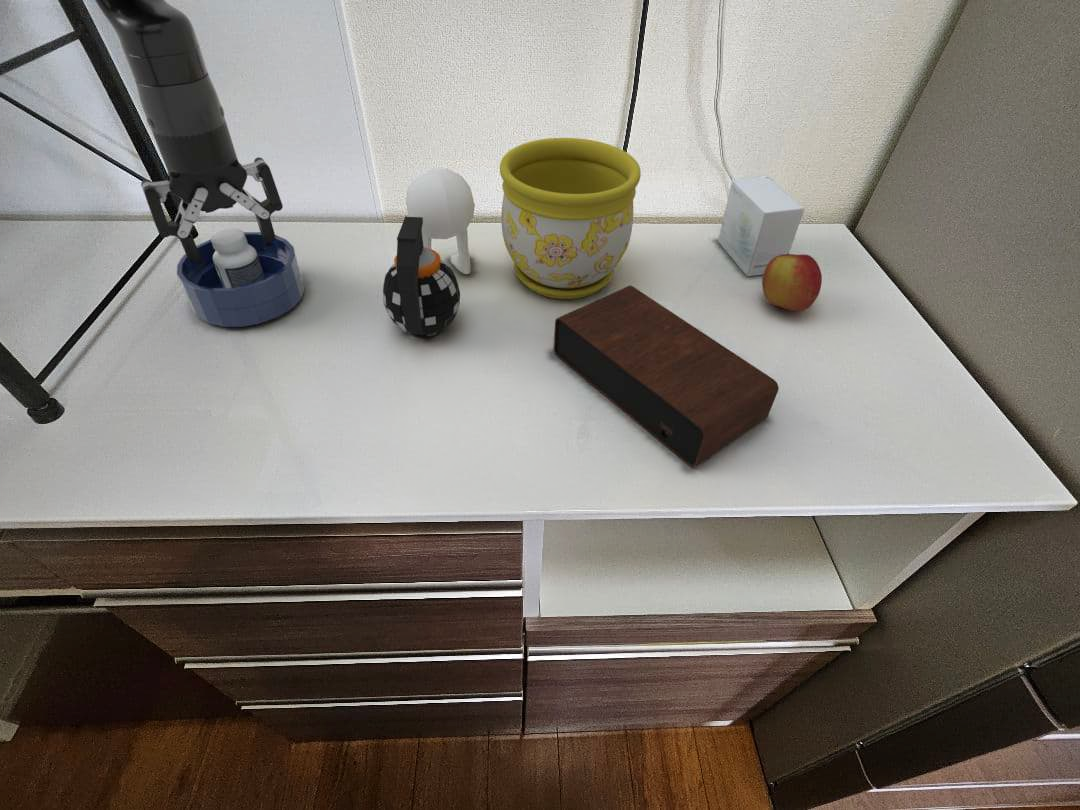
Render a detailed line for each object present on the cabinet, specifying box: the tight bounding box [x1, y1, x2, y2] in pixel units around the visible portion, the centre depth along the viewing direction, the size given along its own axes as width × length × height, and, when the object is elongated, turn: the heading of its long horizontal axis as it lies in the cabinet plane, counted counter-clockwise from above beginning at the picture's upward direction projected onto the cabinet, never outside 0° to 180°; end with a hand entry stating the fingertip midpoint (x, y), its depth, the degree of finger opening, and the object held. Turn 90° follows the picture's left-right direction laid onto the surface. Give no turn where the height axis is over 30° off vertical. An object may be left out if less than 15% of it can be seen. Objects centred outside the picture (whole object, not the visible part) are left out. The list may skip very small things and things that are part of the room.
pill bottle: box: [210, 227, 265, 288], centre depth 81 cm, size 5×5×9 cm
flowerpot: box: [499, 137, 642, 300], centre depth 85 cm, size 18×18×16 cm
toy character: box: [405, 167, 476, 275], centre depth 86 cm, size 9×9×15 cm
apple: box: [761, 253, 823, 313], centre depth 84 cm, size 8×8×8 cm
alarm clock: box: [553, 285, 780, 468], centre depth 72 cm, size 24×12×6 cm, turn 38°
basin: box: [176, 231, 305, 328], centre depth 83 cm, size 14×14×6 cm
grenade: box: [382, 216, 461, 339], centre depth 75 cm, size 11×10×15 cm
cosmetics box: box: [717, 174, 805, 277], centre depth 92 cm, size 10×6×10 cm, turn 13°
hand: (233, 251), depth 80 cm, fingers open, 8 cm apart
